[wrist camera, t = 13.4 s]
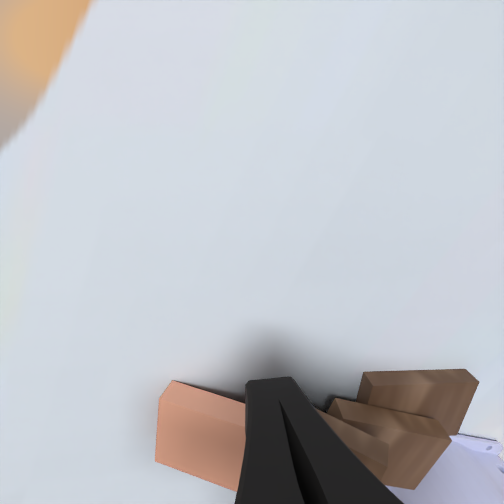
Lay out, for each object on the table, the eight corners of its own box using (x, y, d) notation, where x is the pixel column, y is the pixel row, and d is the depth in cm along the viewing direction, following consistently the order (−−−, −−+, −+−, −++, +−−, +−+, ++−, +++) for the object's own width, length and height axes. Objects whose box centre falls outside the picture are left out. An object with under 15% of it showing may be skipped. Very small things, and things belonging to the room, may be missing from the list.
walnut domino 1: (262, 381, 21) (388, 444, 19) (247, 438, 23) (361, 502, 20) (252, 397, 20) (387, 466, 17) (237, 456, 22) (358, 527, 19)
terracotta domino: (172, 380, 20) (299, 421, 19) (167, 440, 22) (283, 481, 21) (159, 398, 19) (296, 444, 17) (154, 461, 21) (279, 507, 19)
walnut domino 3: (335, 397, 21) (437, 419, 23) (305, 450, 23) (402, 467, 25) (343, 418, 20) (452, 440, 21) (310, 473, 22) (414, 490, 23)
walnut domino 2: (361, 368, 23) (462, 366, 24) (347, 423, 25) (441, 417, 26) (372, 385, 21) (479, 381, 23) (356, 442, 23) (456, 435, 24)
